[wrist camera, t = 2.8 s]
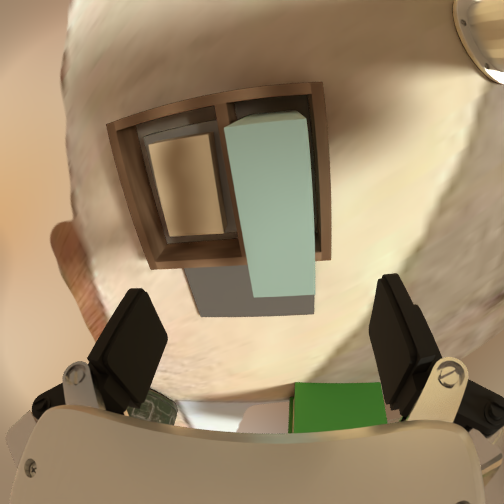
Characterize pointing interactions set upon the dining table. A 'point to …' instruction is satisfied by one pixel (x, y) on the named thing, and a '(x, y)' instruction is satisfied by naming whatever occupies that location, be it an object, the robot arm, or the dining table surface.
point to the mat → (239, 295)
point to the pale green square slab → (274, 201)
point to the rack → (227, 249)
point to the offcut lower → (213, 127)
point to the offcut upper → (189, 184)
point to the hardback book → (335, 407)
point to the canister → (155, 409)
